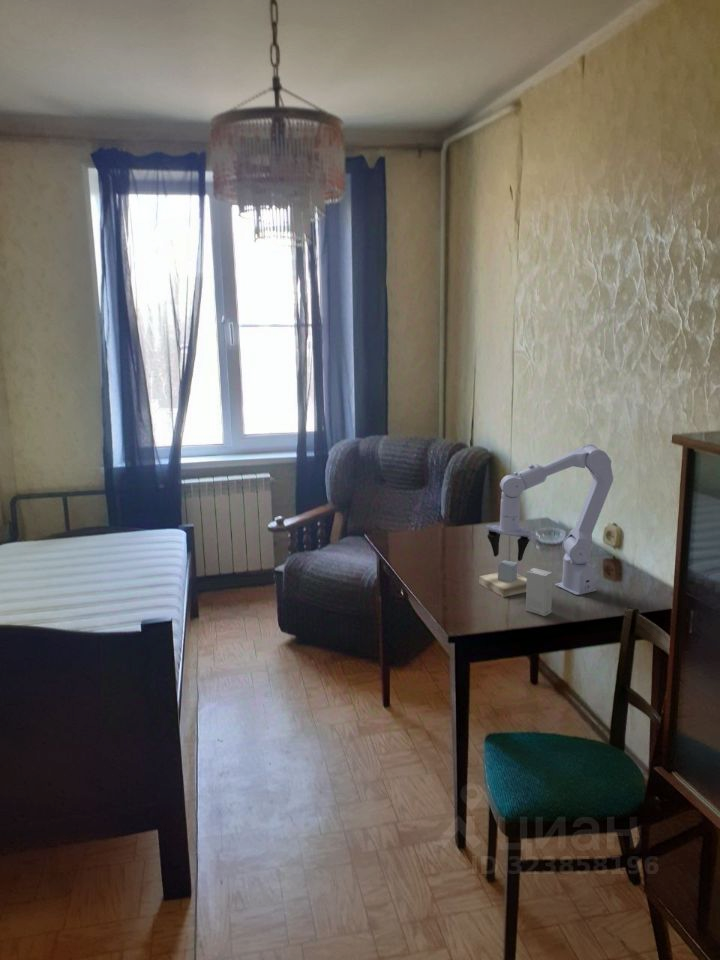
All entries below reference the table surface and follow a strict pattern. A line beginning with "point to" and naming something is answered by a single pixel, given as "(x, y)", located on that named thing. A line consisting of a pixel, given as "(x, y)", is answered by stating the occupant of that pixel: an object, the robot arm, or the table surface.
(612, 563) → the table surface
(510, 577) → the slate block
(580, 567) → the robot arm
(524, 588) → the birch base
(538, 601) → the skincare box
